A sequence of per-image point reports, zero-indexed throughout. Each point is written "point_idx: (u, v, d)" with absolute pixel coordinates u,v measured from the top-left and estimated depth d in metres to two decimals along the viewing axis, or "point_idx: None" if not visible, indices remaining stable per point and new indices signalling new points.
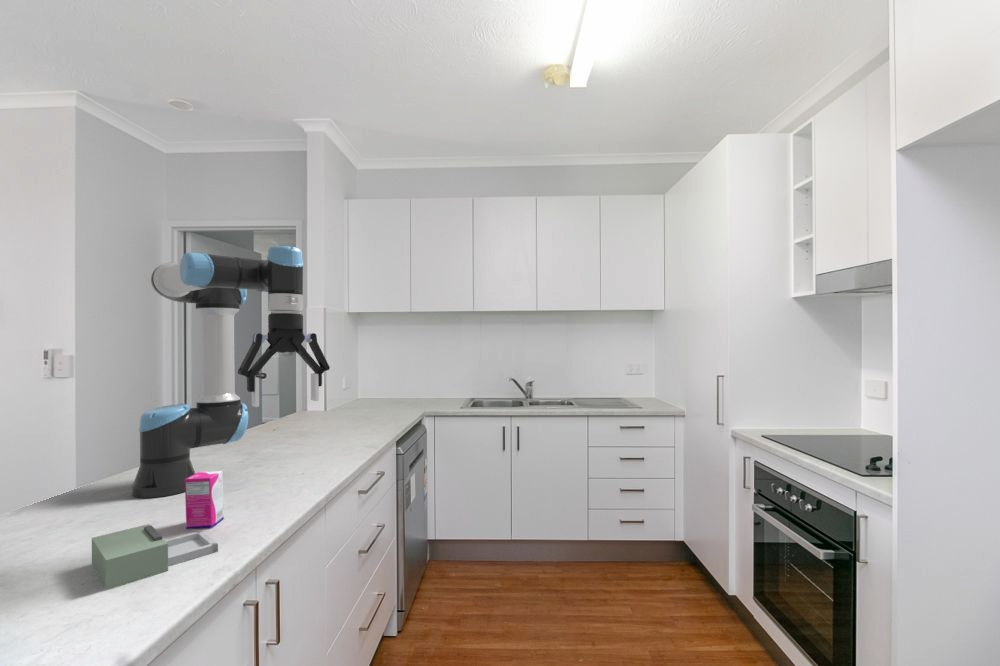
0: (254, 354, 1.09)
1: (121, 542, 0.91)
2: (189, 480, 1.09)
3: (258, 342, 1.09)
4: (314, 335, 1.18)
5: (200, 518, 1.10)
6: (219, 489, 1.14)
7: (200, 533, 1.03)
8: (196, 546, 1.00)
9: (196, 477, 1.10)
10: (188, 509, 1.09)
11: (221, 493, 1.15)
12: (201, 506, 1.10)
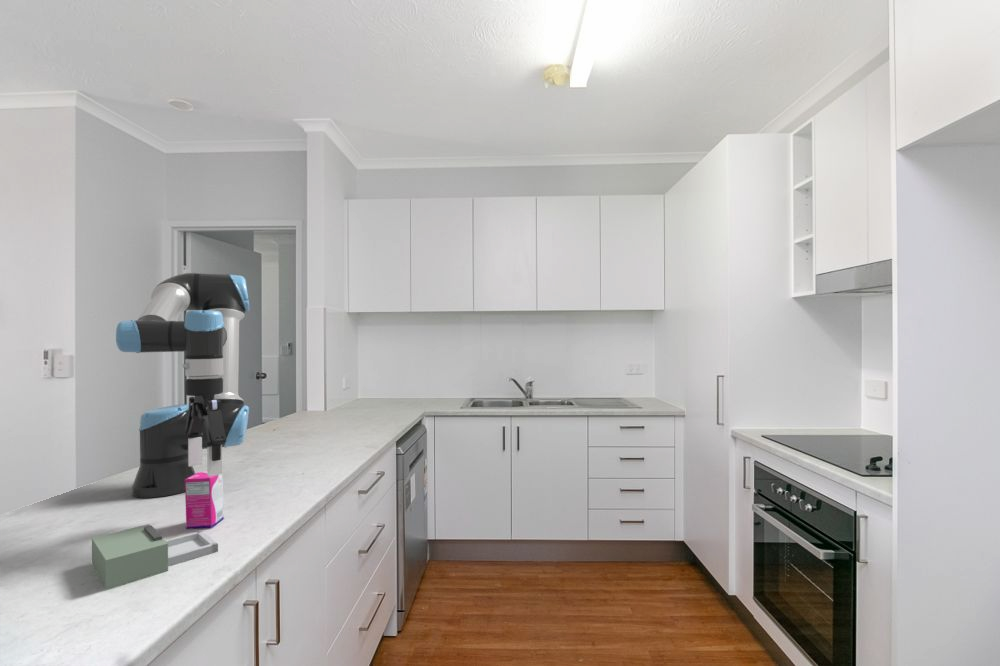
0: (188, 416, 1.16)
1: (121, 542, 0.91)
2: (189, 480, 1.09)
3: (189, 405, 1.16)
4: (207, 403, 1.07)
5: (200, 518, 1.10)
6: (219, 489, 1.14)
7: (200, 533, 1.03)
8: (196, 546, 1.00)
9: (196, 477, 1.10)
10: (188, 509, 1.09)
11: (221, 493, 1.15)
12: (201, 506, 1.10)
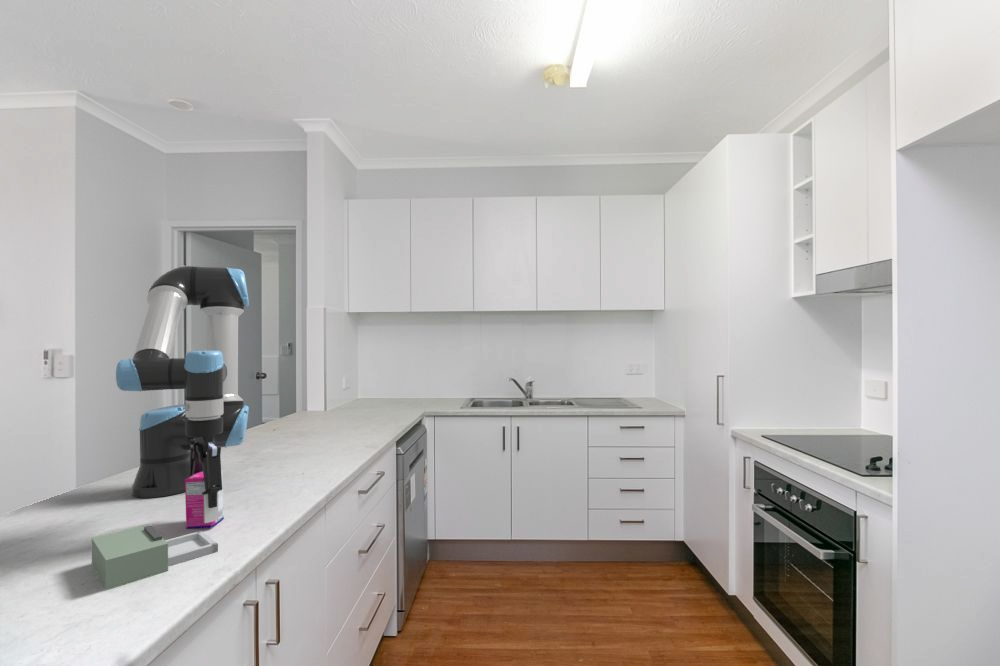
0: (190, 460, 1.16)
1: (121, 542, 0.91)
2: (189, 480, 1.09)
3: (190, 448, 1.16)
4: (207, 450, 1.07)
5: (200, 518, 1.10)
6: None
7: (200, 533, 1.03)
8: (196, 546, 1.00)
9: (196, 477, 1.10)
10: (188, 509, 1.09)
11: (221, 493, 1.15)
12: (201, 506, 1.10)
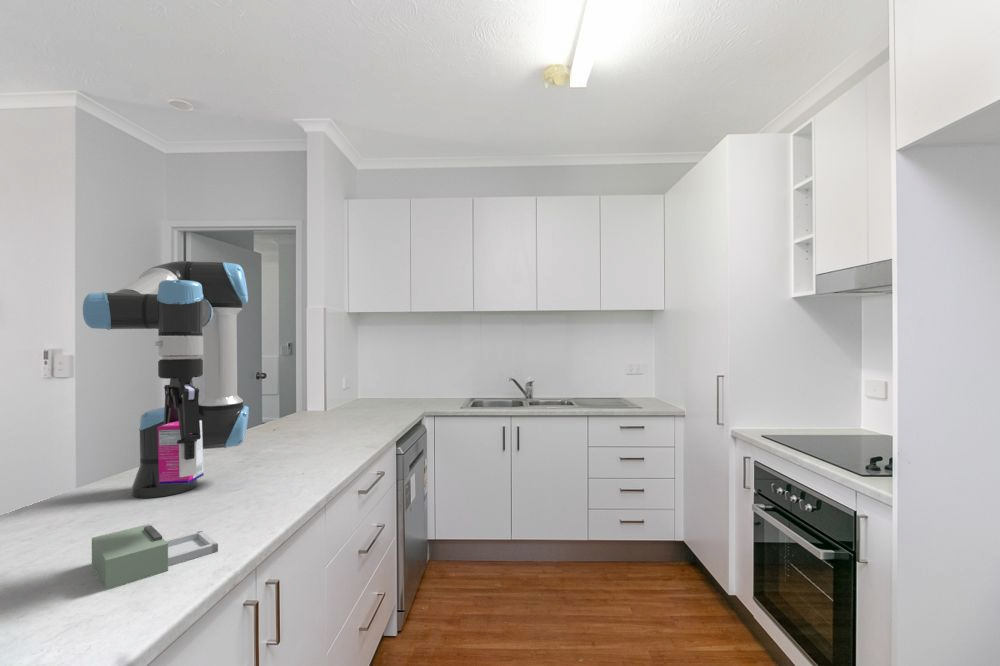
0: (165, 408, 1.01)
1: (121, 542, 0.91)
2: (162, 428, 0.95)
3: (165, 394, 1.01)
4: (183, 392, 0.93)
5: (175, 472, 0.95)
6: (198, 441, 0.99)
7: (200, 533, 1.03)
8: (196, 546, 1.00)
9: (171, 425, 0.96)
10: (161, 461, 0.95)
11: (200, 445, 1.00)
12: (176, 458, 0.95)
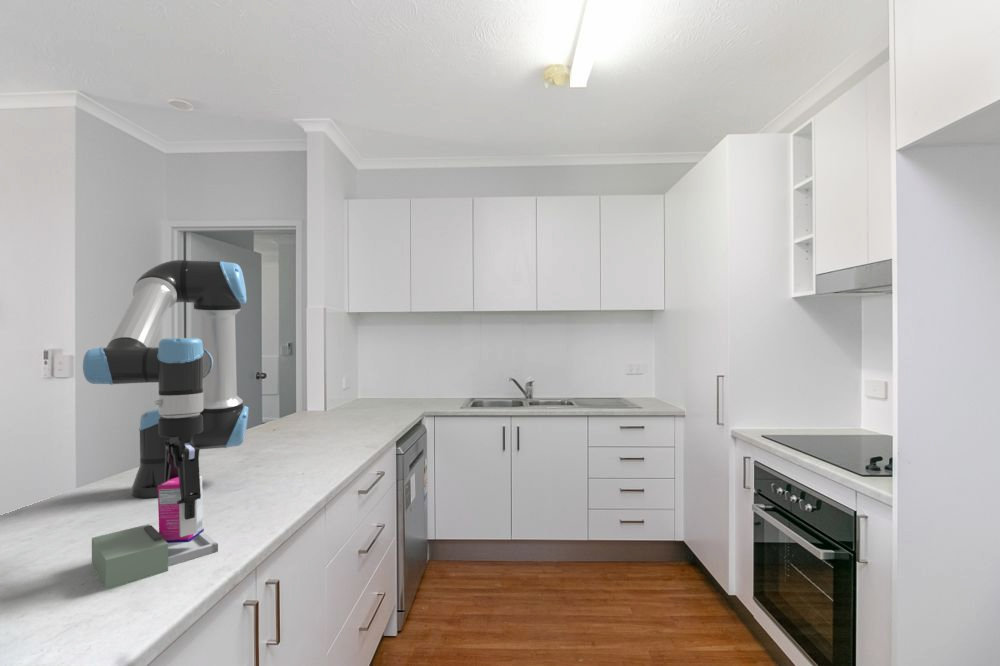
0: (165, 463, 1.01)
1: (121, 542, 0.91)
2: (163, 487, 0.95)
3: (165, 450, 1.01)
4: (183, 452, 0.93)
5: (175, 531, 0.95)
6: None
7: (200, 533, 1.03)
8: (196, 546, 1.00)
9: (171, 483, 0.96)
10: (161, 520, 0.95)
11: (201, 501, 1.00)
12: (176, 517, 0.95)
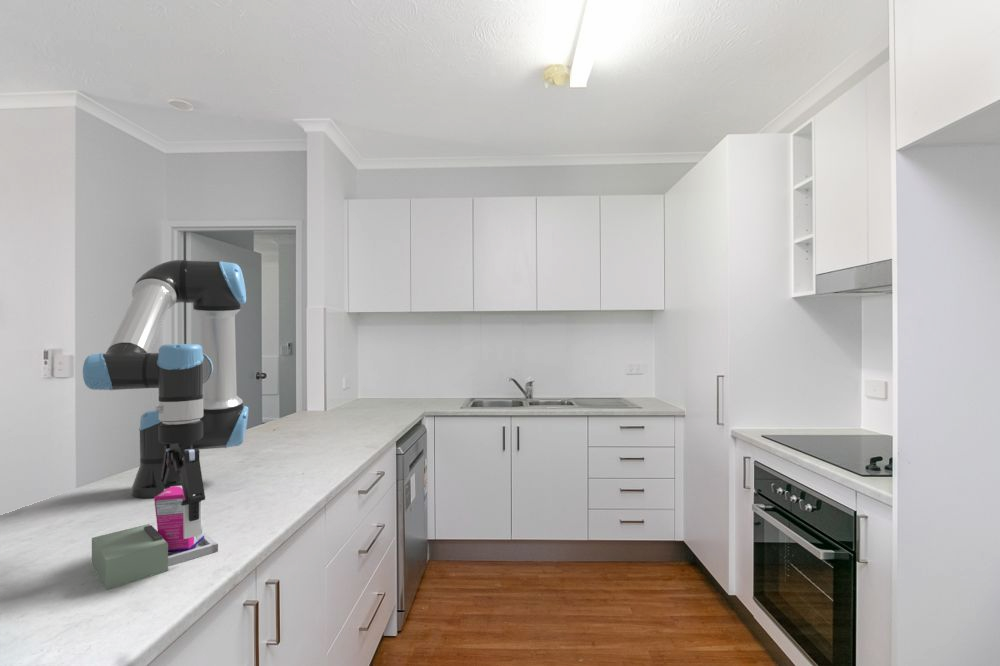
0: (164, 463, 1.02)
1: (121, 542, 0.91)
2: (159, 498, 0.94)
3: (165, 451, 1.01)
4: (183, 453, 0.93)
5: (175, 541, 0.95)
6: None
7: None
8: (196, 546, 1.00)
9: (167, 494, 0.95)
10: (160, 531, 0.95)
11: None
12: (175, 527, 0.95)
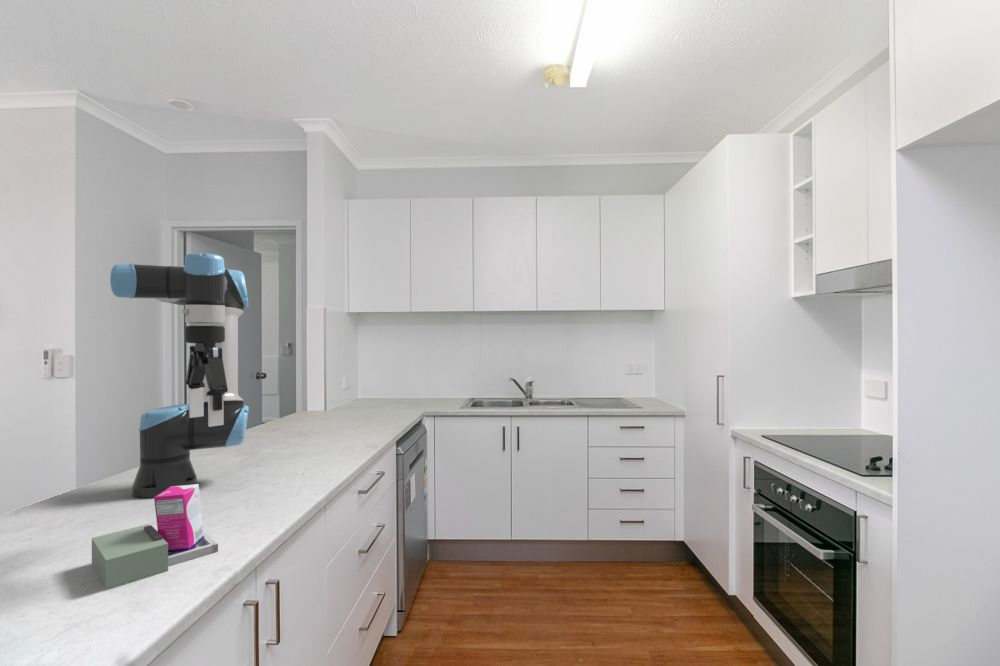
0: (189, 366, 1.11)
1: (121, 542, 0.91)
2: (159, 498, 0.94)
3: (190, 354, 1.11)
4: (208, 350, 1.02)
5: (175, 541, 0.95)
6: (197, 505, 0.99)
7: None
8: (196, 546, 1.00)
9: (167, 494, 0.95)
10: (160, 531, 0.95)
11: (199, 509, 1.00)
12: (175, 527, 0.95)
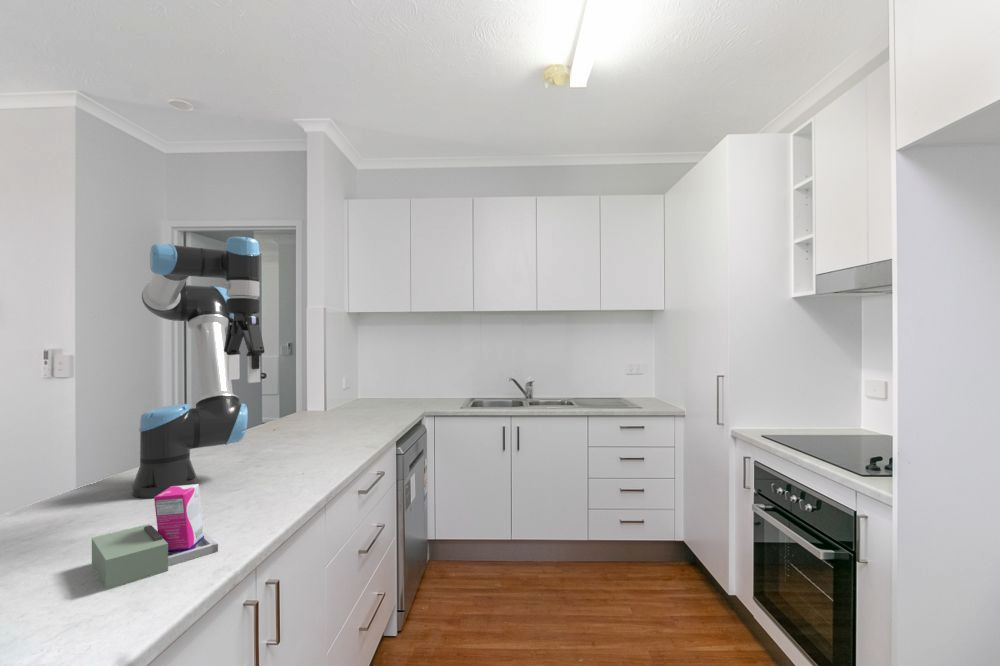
0: (227, 335, 1.29)
1: (121, 542, 0.91)
2: (159, 498, 0.94)
3: (228, 325, 1.29)
4: (247, 318, 1.20)
5: (175, 541, 0.95)
6: (197, 505, 0.99)
7: None
8: (196, 546, 1.00)
9: (167, 494, 0.95)
10: (160, 531, 0.95)
11: (199, 509, 1.00)
12: (175, 527, 0.95)
